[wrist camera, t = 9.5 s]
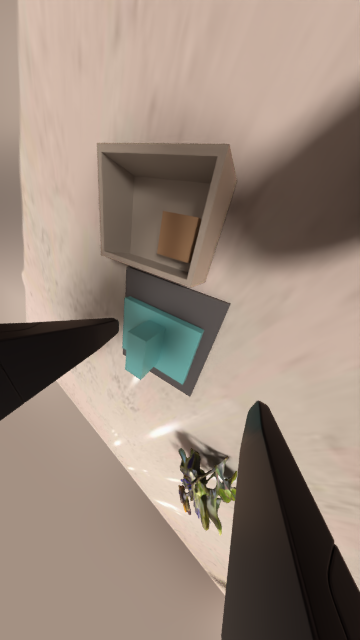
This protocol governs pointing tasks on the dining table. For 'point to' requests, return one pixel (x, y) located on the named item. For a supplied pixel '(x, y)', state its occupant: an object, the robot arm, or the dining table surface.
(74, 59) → the dining table surface
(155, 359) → the lid
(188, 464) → the passion flower
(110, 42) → the dining table surface
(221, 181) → the storage box
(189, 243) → the walnut block
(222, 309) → the rubber mat
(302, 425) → the dining table surface
